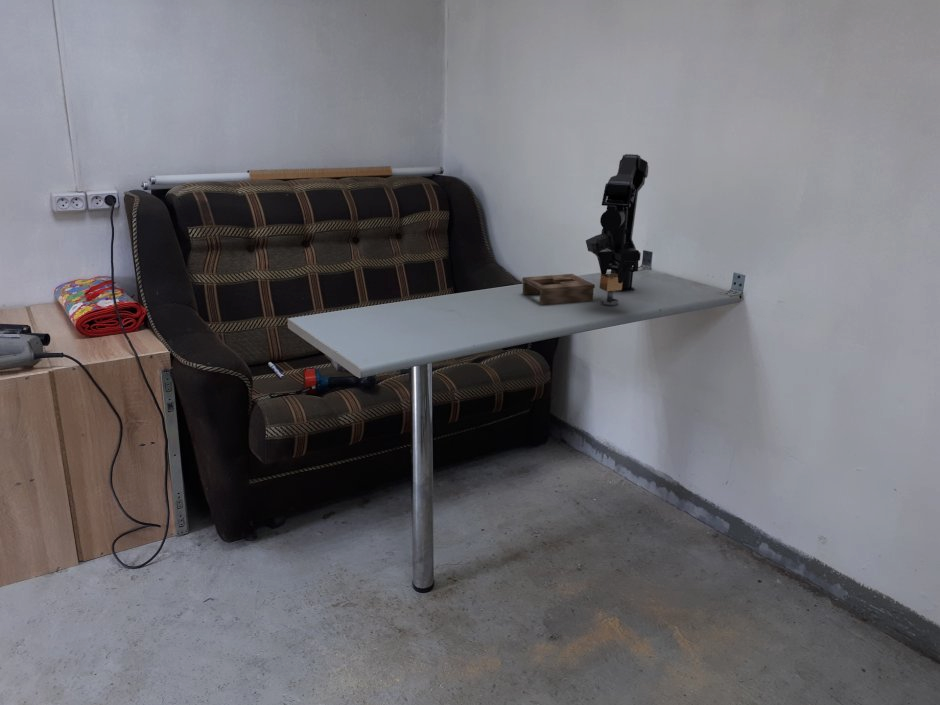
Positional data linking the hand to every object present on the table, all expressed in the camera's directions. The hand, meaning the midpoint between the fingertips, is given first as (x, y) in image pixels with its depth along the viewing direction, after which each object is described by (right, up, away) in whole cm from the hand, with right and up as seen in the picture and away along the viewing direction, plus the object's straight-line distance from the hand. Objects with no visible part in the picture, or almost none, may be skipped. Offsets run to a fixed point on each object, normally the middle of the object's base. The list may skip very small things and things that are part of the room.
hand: (611, 279), depth 207 cm
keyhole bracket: (-14, -5, +8) cm, 17 cm away
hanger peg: (0, -7, +2) cm, 7 cm away
